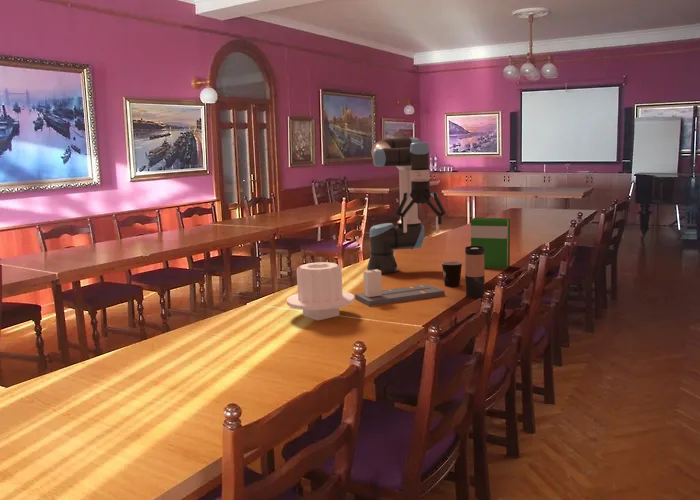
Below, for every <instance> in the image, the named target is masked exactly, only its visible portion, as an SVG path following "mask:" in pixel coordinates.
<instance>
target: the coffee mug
mask: <svg viewBox="0 0 700 500" xmlns="http://www.w3.org/2000/svg"><path fill="white" fill-rule="evenodd" d="M441 265H442V266H441V267H442V277H443V281H444V286H445V287H446V288H457V287H460V284H461V276H462V275H461V274H462V266H463V262H461V261H452V260H451V261H450V260H449V261H443V262H441Z"/></svg>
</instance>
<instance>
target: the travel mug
mask: <svg viewBox="0 0 700 500" xmlns="http://www.w3.org/2000/svg"><path fill="white" fill-rule="evenodd" d="M464 252H465V255H464V259H465V260H464V262H465V263H464V264H465V265H464V273H465V274H464V276H465V277H464V280H465V296H466V297H467V298H471V299H479V298H484V296H483V294H484V295H485V268H484V247H482V246H471V245H469V246H466V247H465V249H464Z"/></svg>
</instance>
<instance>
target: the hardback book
mask: <svg viewBox="0 0 700 500" xmlns="http://www.w3.org/2000/svg"><path fill="white" fill-rule="evenodd" d="M470 246H482V247H484V269H498V270H507V269H508V267H511V218H509V217H508V218H507V217H503V218H502V217H499V218H498V217H473V218H471V219H470Z"/></svg>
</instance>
